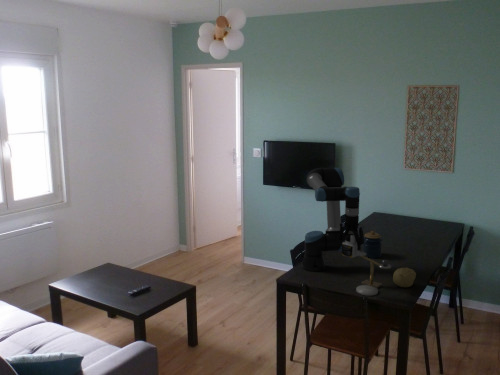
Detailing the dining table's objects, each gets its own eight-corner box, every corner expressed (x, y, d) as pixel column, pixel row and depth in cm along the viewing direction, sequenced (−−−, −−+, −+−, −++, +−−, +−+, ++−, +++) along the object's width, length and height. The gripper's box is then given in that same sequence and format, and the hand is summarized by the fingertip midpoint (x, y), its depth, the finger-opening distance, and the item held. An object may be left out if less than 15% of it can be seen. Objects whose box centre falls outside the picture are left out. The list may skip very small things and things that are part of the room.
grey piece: (341, 255, 264) (342, 234, 261) (349, 252, 268) (349, 232, 266) (352, 258, 258) (352, 237, 256) (359, 255, 263) (360, 234, 261)
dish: (352, 292, 264) (352, 290, 264) (361, 285, 273) (362, 283, 273) (372, 297, 257) (372, 295, 257) (381, 290, 266) (381, 288, 266)
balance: (351, 282, 278) (352, 253, 275) (356, 278, 284) (357, 250, 280) (387, 291, 264) (388, 261, 261) (392, 287, 270) (393, 258, 266)
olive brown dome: (406, 291, 265) (407, 273, 263) (388, 284, 274) (389, 267, 272) (418, 286, 271) (419, 268, 269) (400, 279, 281) (401, 262, 279)
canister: (382, 258, 317) (383, 234, 313) (362, 258, 319) (363, 233, 315) (380, 252, 329) (381, 228, 326) (361, 251, 331) (362, 227, 328)
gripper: (332, 213, 263) (331, 252, 267) (365, 219, 250) (364, 259, 254) (339, 210, 268) (338, 248, 273) (372, 216, 255) (370, 256, 259)
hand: (350, 254), depth 263 cm, fingers closed on grey piece, 7 cm apart
